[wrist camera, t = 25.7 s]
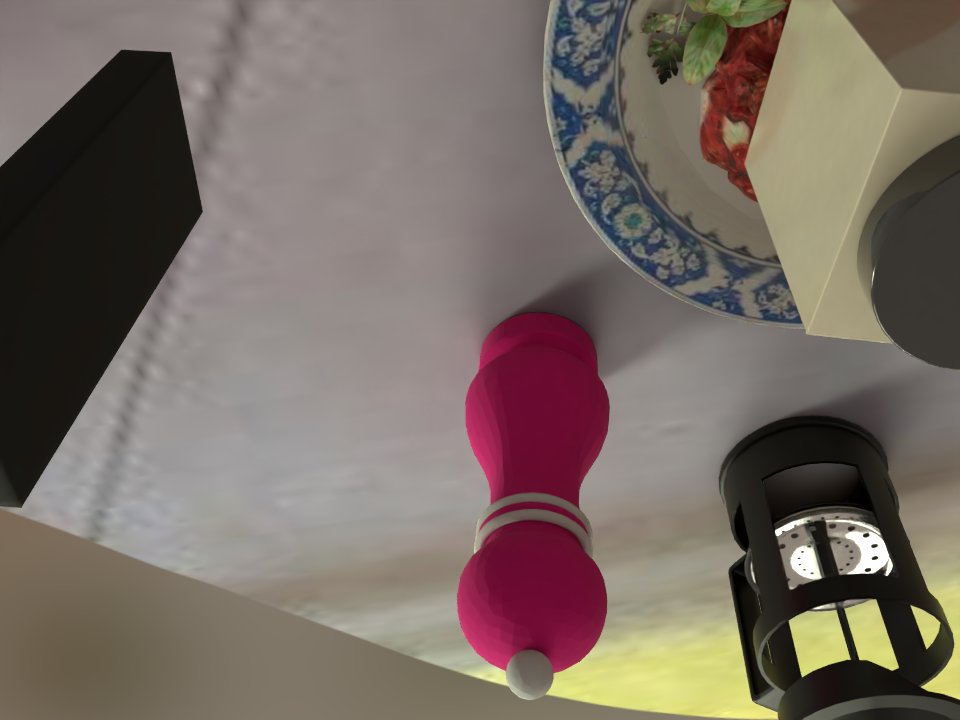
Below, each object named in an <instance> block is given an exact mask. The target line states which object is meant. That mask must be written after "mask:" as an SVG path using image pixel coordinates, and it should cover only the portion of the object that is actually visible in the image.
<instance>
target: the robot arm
mask: <svg viewBox="0 0 960 720" xmlns="http://www.w3.org/2000/svg"><path fill="white" fill-rule="evenodd" d="M202 212H203V211H202V205H201V200H200V195H199V190H198V185H197V180H196V175H195V170H194V165H193V160H192V155H191V150H190V145H189V140H188V135H187V130H186V125H185V120H184V115H183V110H182V105H181V100H180V95H179V90H178V85H177V80H176V75H175V70H174V65H173V60H172V55H171V52H154V51H134V50H121V51H120V52H119V53H118V54H117V55H116V56H115V57H114V58H112V59H111V60H110V61H109V62H108V63H107V64H106V65H105V66H104V67H103V68H102V69H101V70H100V71H99V72H98V73H97V74H96V75H95V76H94V77H93V78H92V79H91V80H90V81H89V82H88V83H87V84H86V85H85V86H84V87H82V88H81V89H80V90H79V91H78V92H77V93H76V94H75V95H74V96H73V97H72V98H71V99H70V100H69V101H68V102H67V103H66V104H65V105H64V106H63V107H62V108H61V109H60V110H59V111H58V112H57V113H56V114H55V115H54V116H53V117H51V118H50V119H49V120H48V121H47V122H46V123H45V124H44V125H43V126H42V127H41V128H40V129H39V130H38V131H37V132H36V133H35V134H34V135H33V136H32V137H31V138H30V139H29V140H28V141H27V142H26V143H25V144H24V145H23V146H21V147H20V148H19V149H18V150H17V151H16V152H15V153H14V154H13V155H12V156H11V157H10V158H9V159H8V160H7V161H6V162H5V163H4V164H3V165H2V166H1V167H0V506H5V507H19V508H21V507H22V506H23V504H24V502H25V501H26V499H27V497H28V496H29V494H30V493H31V491H32V489H33V488H34V486H35V484H36V483H37V481H38V480H39V478H40V476H41V475H42V473H43V471H44V470H45V468H46V466H47V465H48V463H49V462H50V460H51V458H52V457H53V455H54V453H55V452H56V450H57V449H58V447H59V445H60V444H61V442H62V440H63V439H64V437H65V436H66V434H67V432H68V431H69V429H70V427H71V426H72V424H73V422H74V421H75V419H76V418H77V416H78V414H79V413H80V411H81V409H82V408H83V406H84V405H85V403H86V401H87V400H88V398H89V396H90V395H91V393H92V392H93V390H94V388H95V387H96V385H97V383H98V382H99V380H100V378H101V377H102V375H103V374H104V372H105V370H106V369H107V367H108V365H109V364H110V362H111V361H112V359H113V357H114V356H115V354H116V352H117V351H118V349H119V348H120V346H121V344H122V343H123V341H124V339H125V338H126V336H127V334H128V333H129V331H130V330H131V328H132V326H133V325H134V323H135V321H136V320H137V318H138V317H139V315H140V313H141V312H142V310H143V308H144V307H145V305H146V303H147V302H148V300H149V299H150V297H151V295H152V294H153V292H154V290H155V289H156V287H157V286H158V284H159V282H160V281H161V279H162V277H163V276H164V274H165V273H166V271H167V269H168V268H169V266H170V264H171V263H172V261H173V259H174V258H175V256H176V255H177V253H178V251H179V250H180V248H181V246H182V245H183V243H184V242H185V240H186V238H187V237H188V235H189V233H190V232H191V230H192V229H193V227H194V225H195V224H196V222H197V220H198V219H199V217H200V215H201V214H202Z"/></svg>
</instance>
